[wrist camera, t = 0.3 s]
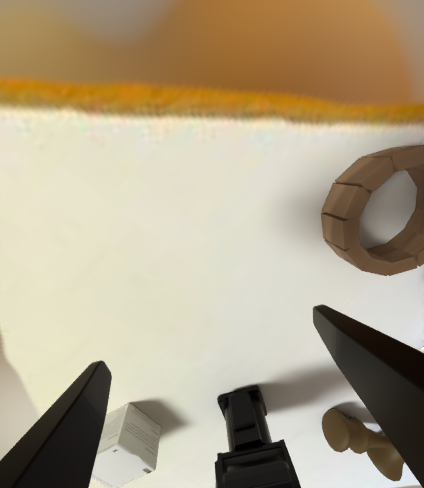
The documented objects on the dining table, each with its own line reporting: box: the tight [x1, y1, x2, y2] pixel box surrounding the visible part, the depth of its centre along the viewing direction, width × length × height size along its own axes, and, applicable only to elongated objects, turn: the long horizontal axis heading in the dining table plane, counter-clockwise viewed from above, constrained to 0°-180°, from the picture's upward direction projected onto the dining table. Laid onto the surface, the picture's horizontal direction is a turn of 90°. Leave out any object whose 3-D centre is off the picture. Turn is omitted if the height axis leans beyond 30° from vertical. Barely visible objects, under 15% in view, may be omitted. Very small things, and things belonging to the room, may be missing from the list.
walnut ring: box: [321, 145, 424, 276], centre depth 21 cm, size 12×12×4 cm
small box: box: [91, 403, 161, 488], centre depth 30 cm, size 8×8×5 cm
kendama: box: [322, 409, 405, 481], centre depth 34 cm, size 6×10×20 cm
